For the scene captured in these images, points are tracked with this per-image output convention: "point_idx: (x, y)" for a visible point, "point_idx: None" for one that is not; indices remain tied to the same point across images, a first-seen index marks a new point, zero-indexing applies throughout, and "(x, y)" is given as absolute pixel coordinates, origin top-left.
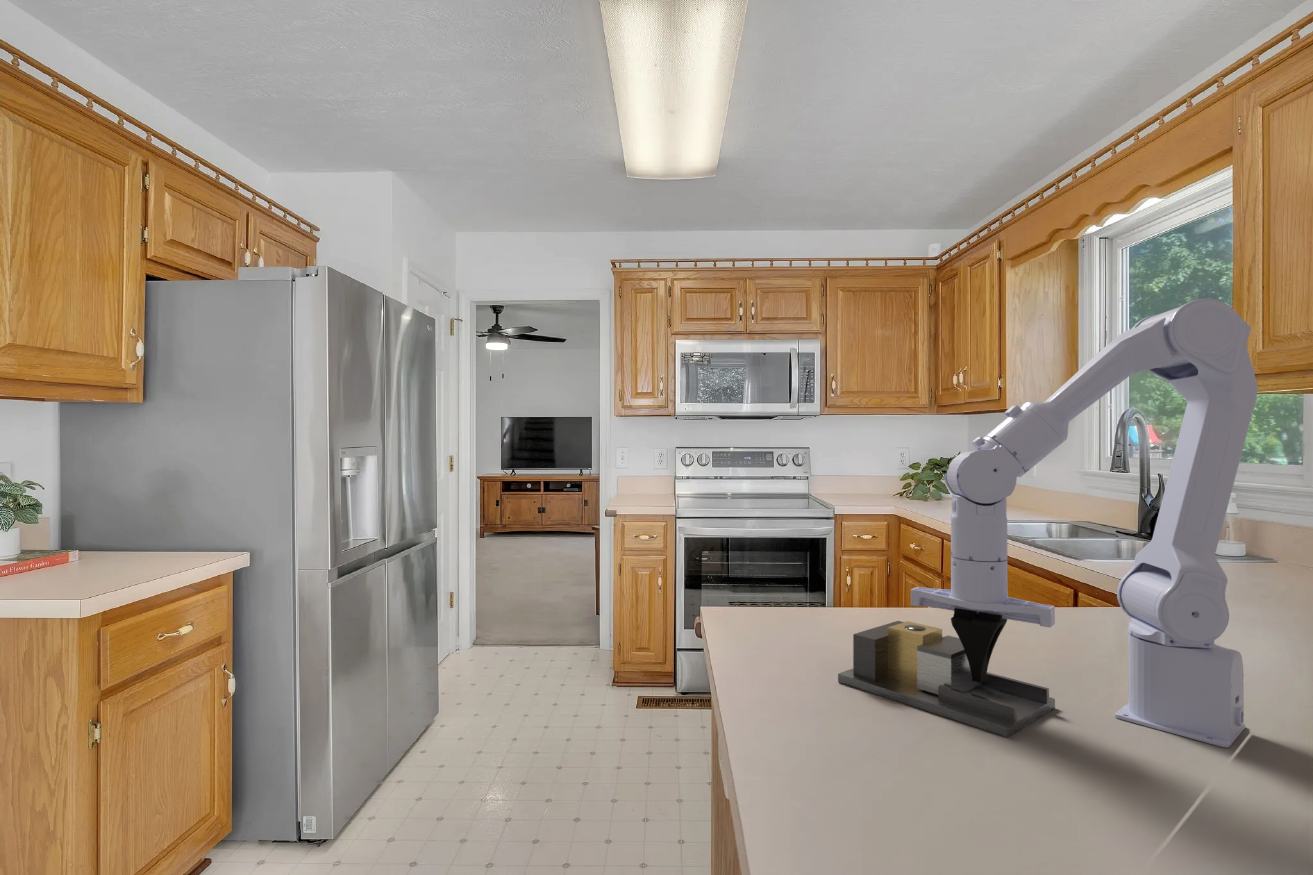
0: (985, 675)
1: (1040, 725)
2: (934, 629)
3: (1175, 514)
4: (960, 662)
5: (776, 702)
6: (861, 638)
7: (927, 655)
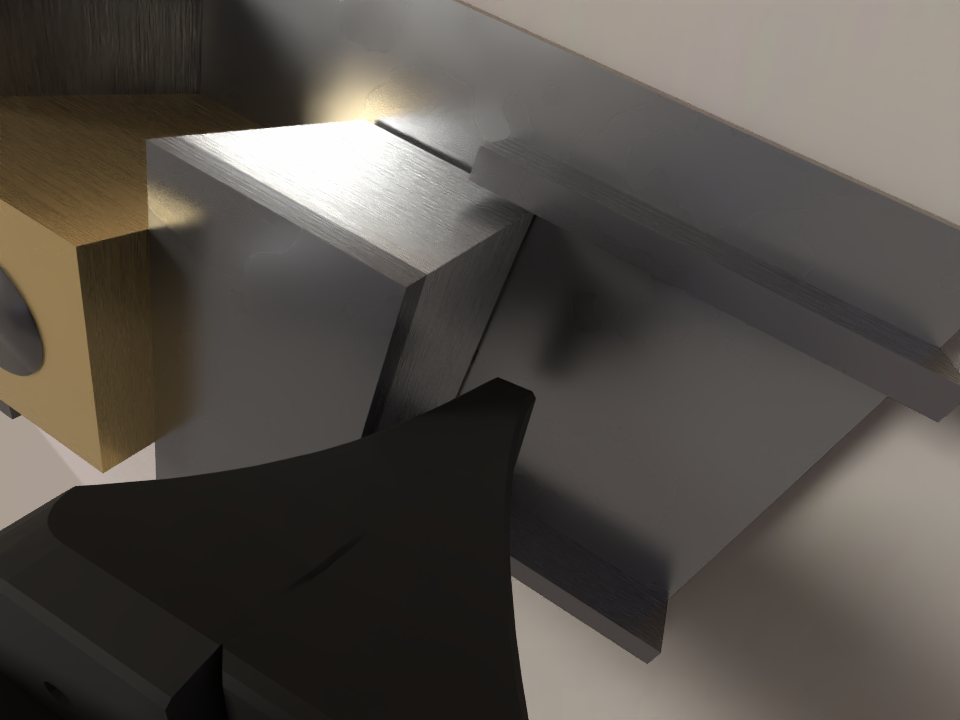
0: (526, 421)
1: (799, 482)
2: (57, 288)
3: None
4: None
5: (124, 461)
6: None
7: None
